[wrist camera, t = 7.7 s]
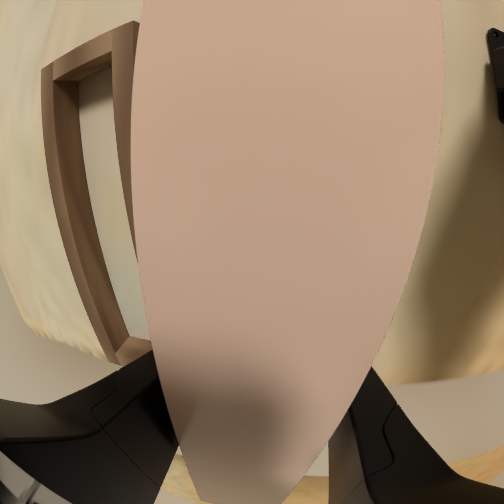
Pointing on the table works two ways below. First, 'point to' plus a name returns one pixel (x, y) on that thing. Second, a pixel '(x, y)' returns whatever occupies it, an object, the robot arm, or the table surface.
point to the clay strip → (277, 216)
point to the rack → (74, 179)
